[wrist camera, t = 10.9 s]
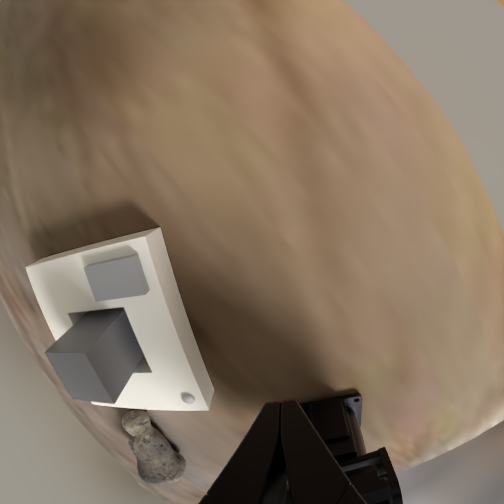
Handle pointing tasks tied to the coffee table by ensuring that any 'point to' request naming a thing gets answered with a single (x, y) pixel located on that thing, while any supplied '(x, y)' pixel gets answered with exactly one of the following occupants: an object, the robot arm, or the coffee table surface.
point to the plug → (97, 356)
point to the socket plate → (130, 314)
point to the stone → (152, 450)
